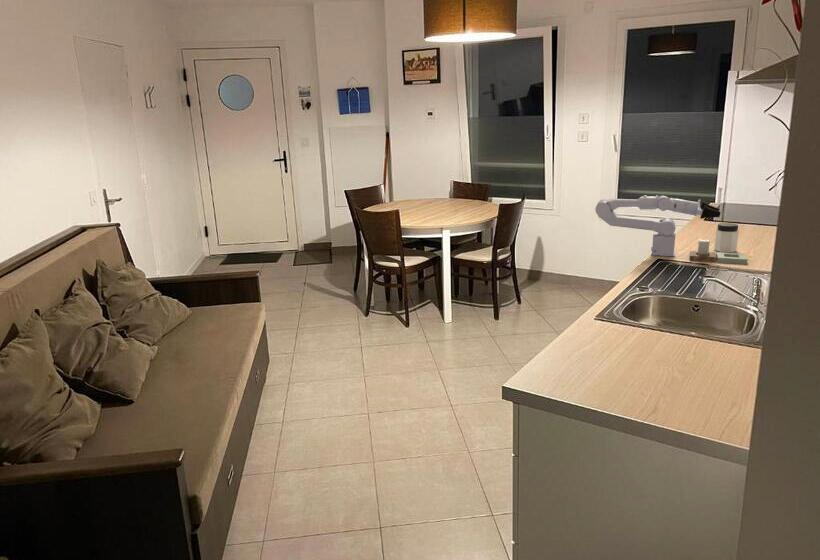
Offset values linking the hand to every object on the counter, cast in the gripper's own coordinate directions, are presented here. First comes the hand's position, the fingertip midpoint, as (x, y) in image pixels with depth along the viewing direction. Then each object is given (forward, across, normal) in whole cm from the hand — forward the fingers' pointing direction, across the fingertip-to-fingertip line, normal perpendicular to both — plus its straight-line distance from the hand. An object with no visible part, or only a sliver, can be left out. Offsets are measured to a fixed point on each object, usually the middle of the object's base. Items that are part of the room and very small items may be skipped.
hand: (719, 212), depth 261 cm
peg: (-2, -5, +20) cm, 21 cm away
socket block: (-2, -5, +20) cm, 21 cm away
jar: (+9, +13, +19) cm, 25 cm away
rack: (+9, -6, +18) cm, 21 cm away
